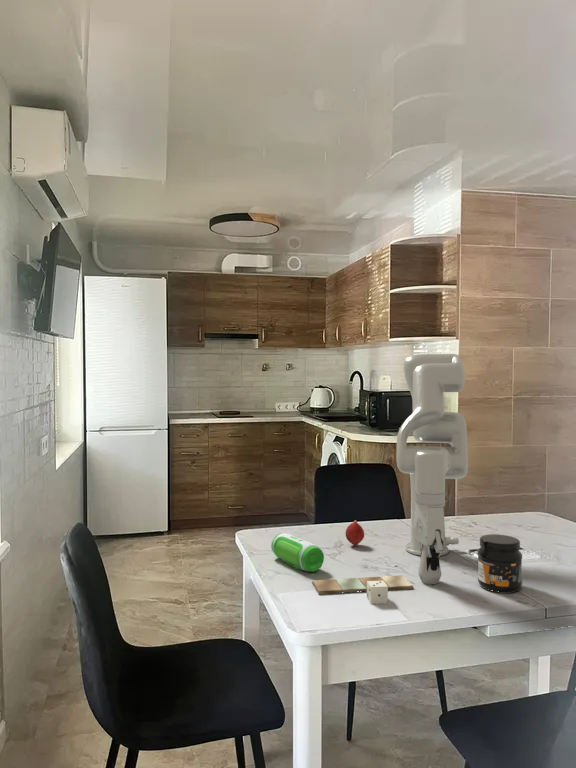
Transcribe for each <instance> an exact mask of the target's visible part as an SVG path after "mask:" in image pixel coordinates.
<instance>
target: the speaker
mask: <svg viewBox="0 0 576 768" xmlns="http://www.w3.org/2000/svg"><path fill="white" fill-rule="evenodd" d="M270 546H271V552H272V553H273V554H274V555H275V556H276V557H277V558H278V559H279V560H282V561H283V562H284V563H285V562H286V564H287V565H289V564H290V566H291V565H292V568H293V567H294V568H296V569H297V568H298V570H301V571H304V572H310V573H311V572H316V571H318V570H319V569H321V567H322V566H323V564H324V559H325V555H324V552H323V549H321V548H320V547H319V546H317V545H316V544H314V543H312V542H309V541H307V540H306V539H303V538H300V537H298V536H294V535H292V534H291V533H285V532H284V533H279V534H277V535H275V536H274V537H273V538H272V541H271V545H270Z"/></svg>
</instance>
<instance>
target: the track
mask: <svg viewBox="0 0 576 768" xmlns="http://www.w3.org/2000/svg"><path fill="white" fill-rule="evenodd" d="M367 581H384V582H385V584H386V585H387V586H388V591H401V590H402V591H403V590H414V586H413V584H412V583H411V582H410V581H409V580H407V579H406V578H405V577H404V575H386V576H385V575H384V576H383V575H382V576H369V577H367V576H366V577H349V578H336V579H335V578H334V579H333V578H332V579H317V580H315V579H314V580H312V582H311V583H312V585H313V587H314V588H315V590H316V592H317V594H318V595H319V596H320V595H321V596H322V595H337V594H336V593H339V594H343V593H342V592H355V593H361V592H360V591H367ZM357 591H359V592H357Z"/></svg>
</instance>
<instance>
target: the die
mask: <svg viewBox="0 0 576 768" xmlns="http://www.w3.org/2000/svg"><path fill="white" fill-rule="evenodd" d="M388 591H389V590H388V586H387V585H386V584H385V582H384V581H367V592H366V598H367V600H368V602H369V603H370V605H374V604H375V605H376V604H378V605H379V603H380V604H388V600H389V597H388V595H389V594H388V593H389V592H388Z"/></svg>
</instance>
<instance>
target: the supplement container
mask: <svg viewBox="0 0 576 768" xmlns="http://www.w3.org/2000/svg"><path fill="white" fill-rule="evenodd" d="M520 550H521V541H520V540H519V539H518V538H517V537H515V536H511V535H506V534H497V533H495V534H492V533H491V534H485V535H481V536H480V537H479V548H478V549H477V556H478V558H477V563H478V564H477V566H478V567H477V568H478V569H477V573H478V576H477V582H478V585H480V586H481V587H482V588H483V587H484V588H483V589H485V588H486V590H487V589H489V590H488V591H490V590H493V591H492V592H494V591H499V592H498V593H500V592H512V593H515V592H514V591H516V592H518V591H519V590H521V588H522V586H523V581H522V580H523V579H522V578H523V577H522V576H523V574H522V573H523V571H522V568H523V566H522V565H523V564H522V562H523V561H522V560H523V553H522V552H521V551H520Z"/></svg>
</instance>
